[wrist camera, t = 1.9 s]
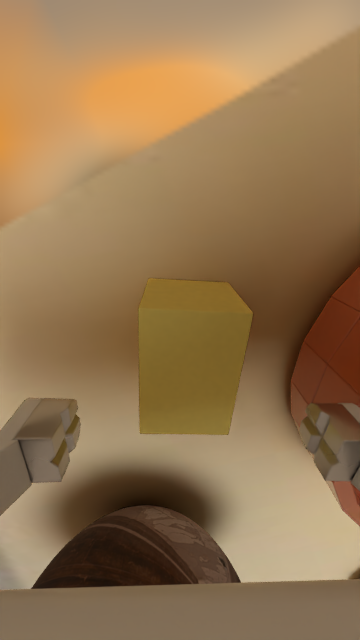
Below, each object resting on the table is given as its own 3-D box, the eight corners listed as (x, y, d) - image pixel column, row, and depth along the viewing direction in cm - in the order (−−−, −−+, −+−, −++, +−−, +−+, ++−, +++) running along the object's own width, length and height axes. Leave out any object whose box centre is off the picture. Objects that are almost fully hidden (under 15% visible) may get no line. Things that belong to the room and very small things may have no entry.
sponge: (148, 277, 12) (138, 308, 8) (228, 282, 12) (254, 313, 8) (147, 376, 14) (139, 434, 10) (213, 378, 14) (228, 435, 11)
